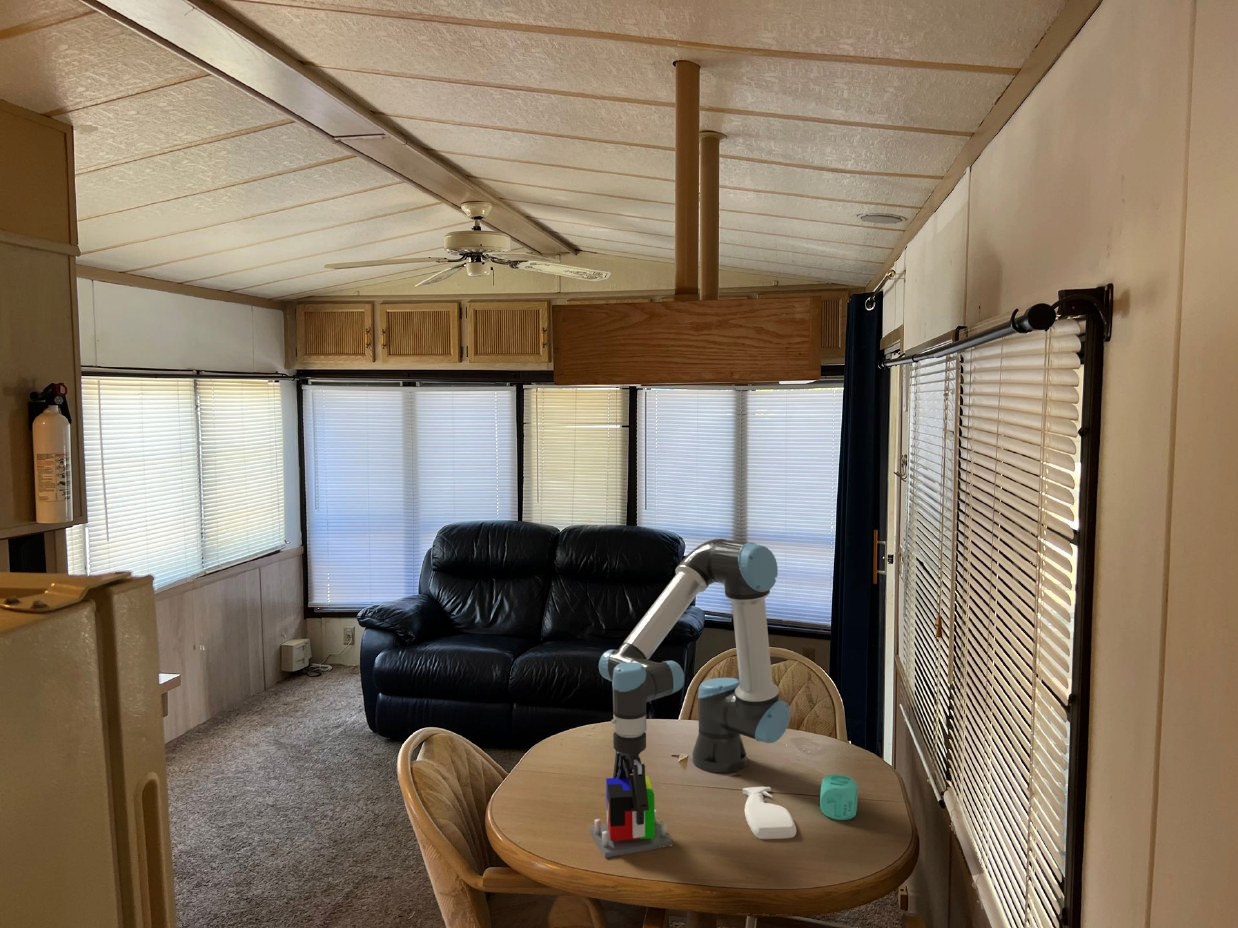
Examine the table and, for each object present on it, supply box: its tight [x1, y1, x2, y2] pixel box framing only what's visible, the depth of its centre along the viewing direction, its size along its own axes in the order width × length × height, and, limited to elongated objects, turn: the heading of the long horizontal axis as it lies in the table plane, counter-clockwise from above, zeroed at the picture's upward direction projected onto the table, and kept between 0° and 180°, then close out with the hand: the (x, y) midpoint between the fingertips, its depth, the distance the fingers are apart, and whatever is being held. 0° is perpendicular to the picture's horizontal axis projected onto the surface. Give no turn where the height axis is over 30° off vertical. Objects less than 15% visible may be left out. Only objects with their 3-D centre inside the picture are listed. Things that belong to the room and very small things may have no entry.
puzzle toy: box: [605, 775, 655, 841], centre depth 199 cm, size 10×10×10 cm
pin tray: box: [589, 809, 673, 859], centre depth 200 cm, size 16×12×4 cm
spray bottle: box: [742, 786, 797, 840], centre depth 212 cm, size 3×11×24 cm
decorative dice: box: [819, 773, 859, 821], centre depth 212 cm, size 8×8×8 cm
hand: (630, 824), depth 200 cm, fingers closed on puzzle toy, 11 cm apart
